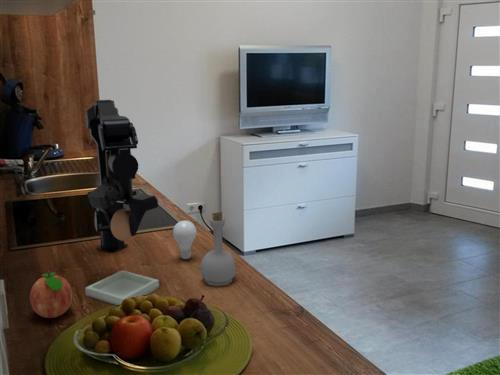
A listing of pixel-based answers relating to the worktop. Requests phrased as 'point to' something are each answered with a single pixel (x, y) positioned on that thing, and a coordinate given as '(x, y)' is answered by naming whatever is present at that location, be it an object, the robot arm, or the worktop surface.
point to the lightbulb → (184, 237)
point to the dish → (121, 287)
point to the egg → (121, 225)
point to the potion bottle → (218, 257)
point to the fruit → (51, 295)
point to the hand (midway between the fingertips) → (123, 233)
